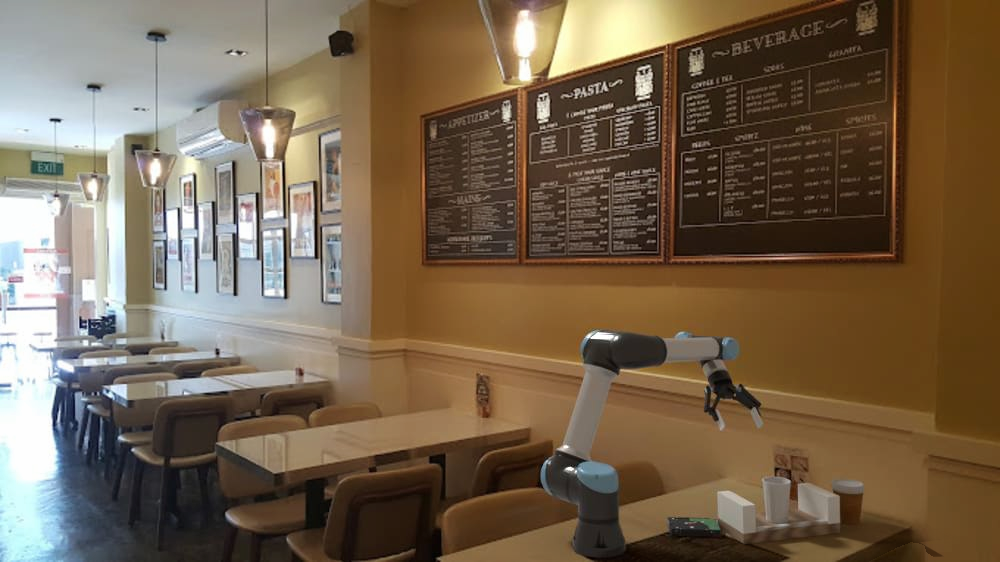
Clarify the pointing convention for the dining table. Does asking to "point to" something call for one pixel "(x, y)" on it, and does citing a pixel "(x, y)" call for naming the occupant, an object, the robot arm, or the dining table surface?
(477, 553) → the dining table surface
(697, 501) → the dining table surface
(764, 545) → the dining table surface
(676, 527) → the disk drive
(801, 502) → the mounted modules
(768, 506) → the cup
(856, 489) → the disposable coffee cup
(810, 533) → the board
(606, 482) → the robot arm
